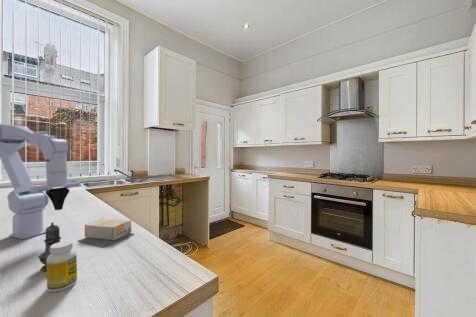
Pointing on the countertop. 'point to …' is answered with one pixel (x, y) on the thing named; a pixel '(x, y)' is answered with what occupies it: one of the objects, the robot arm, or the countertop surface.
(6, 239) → the countertop surface
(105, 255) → the countertop surface
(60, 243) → the supplement bottle
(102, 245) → the slate mat
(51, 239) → the stone chess piece
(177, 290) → the countertop surface
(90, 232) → the supplement box
